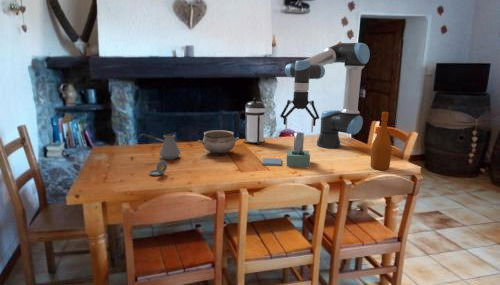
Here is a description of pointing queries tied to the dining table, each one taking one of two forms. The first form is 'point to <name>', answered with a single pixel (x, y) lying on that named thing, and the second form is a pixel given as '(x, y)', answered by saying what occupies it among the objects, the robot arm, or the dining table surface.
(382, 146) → the wine bottle
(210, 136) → the cooking pot
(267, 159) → the slate mat
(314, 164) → the dining table surface
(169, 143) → the coffee pot
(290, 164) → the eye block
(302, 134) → the metal peg
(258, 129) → the coffee press
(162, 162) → the pocket watch
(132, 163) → the dining table surface
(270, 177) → the dining table surface
